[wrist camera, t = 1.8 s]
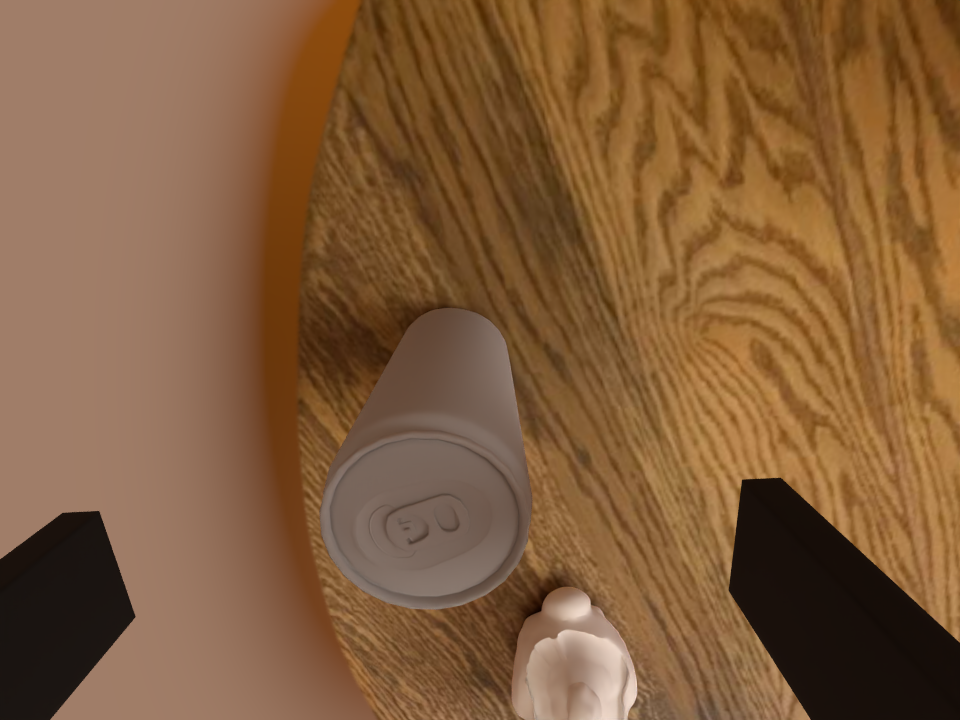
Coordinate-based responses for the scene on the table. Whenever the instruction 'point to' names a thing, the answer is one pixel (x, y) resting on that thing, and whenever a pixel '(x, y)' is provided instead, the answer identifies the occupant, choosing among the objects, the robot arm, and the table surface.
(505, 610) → the table surface
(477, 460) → the beverage can
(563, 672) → the rabbit figurine
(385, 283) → the table surface
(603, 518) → the table surface
